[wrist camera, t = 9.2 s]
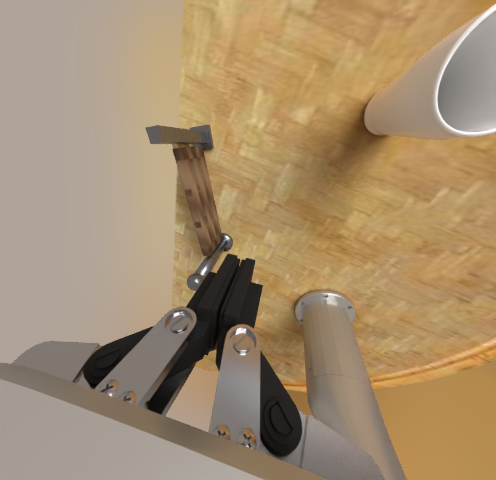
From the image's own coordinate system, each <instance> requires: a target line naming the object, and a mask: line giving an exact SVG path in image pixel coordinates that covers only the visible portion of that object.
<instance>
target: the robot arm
mask: <svg viewBox="0 0 496 480" xmlns="http://www.w3.org/2000/svg"><path fill="white" fill-rule="evenodd" d="M239 263H240V259H238V258H237V256H236V255H232V254H227V256H226V258H225V259H224V261H223V263H222V264H221V266H220V268H219V270H218V271H217V273H213V272H209V273H208V274H207V276H206V277H205V279H204V280H203V282H202V283H201V285H200V286H199V288H198V289H197V291H196V293H195V294H194V296H193V297H192V299H191V300H190V302H189V303H188V305H187V306H186V307H179V308H175V309H173V310H171V311H169V312H168V313H167V314H165V315H164V317H163V318H162V319H161V320H160V321H159V322H158V323H157V324H156V325H155V326H153V327H150V328H147V329H145V330H142V331H140V332H137V333H134V334H132V335H129V336H127V337H124V338H121V339H119V340H116V341H113V342H111V343H109V344H106V345H104V346H100V345H99V344H97V343H78V342H55V341H50V342H43V343H41V344H38V345H35V346H34V347H32V348H30V349H28V350H26V351H25V352H24V353H23V354H22V355H20V356H19V357H18V358H17V359H16V360H15V361H14V362H13V363H12V364H8V363H0V480H407V479H406V477H405V474H404V472H403V470H402V467H401V464H400V462H399V460H398V457H397V455H396V452H395V450H394V447H393V445H392V442H391V440H390V437H389V434H388V431H387V429H386V426H385V424H384V420H383V417H382V415H381V412H380V409H379V406H378V403H377V400H376V397H375V394H374V391H373V388H372V385H371V382H370V379H369V376H368V373H367V370H366V367H365V364H364V361H363V358H362V355H361V352H360V349H359V346H358V343H357V340H356V337H355V334H354V331H353V328H352V325H351V324H352V322H353V321H354V319H355V309H354V306H353V304H352V303H351V301H350V300H349V299H348V298H347V297H345V296H343V295H342V294H339V293H337V292H333V291H327V290H318V291H313V292H310V293H307V294H305V295H303V296H302V297H301V298H300V299H299V300H298V301H297V303H296V305H295V314H296V317H297V319H298V321H299V322H300V323H301V324H302V325H303V337H304V353H305V369H306V385H307V397H308V403H309V407H310V410H311V412H312V414H313V416H314V417H312V416H311V415H308V416H307V415H305V414H304V413H302V412H300V411H299V410H298V409H297V407H296V405H295V404H294V402H293V401H292V399H291V397H290V396H289V394H288V393H287V391H286V390H285V388H284V386H283V385H282V383H281V382H280V380H279V379H278V377H277V375H276V374H275V372H274V371H273V369H272V368H271V366H270V364H269V363H268V361H267V360H266V358H265V356H264V355H263V353H262V352H261V350H260V337H259V335H258V333H257V332H256V331H255V329H254V326H255V321H256V316H257V311H258V306H259V301H260V296H261V292H262V287H263V285H260V284H256V283H252V282H251V280H252V275H253V270H254V265H255V260H253V259H249V258H246V260H242V261H241V264H240V266H239ZM216 343H217V353H216V365H217V367H218V370H219V377H218V383H217V388H216V394H215V400H214V405H213V410H212V416H211V422H210V427H209V433H208V432H205V431H203V430H200V429H198V428H195V427H192V426H190V425H187V424H184V423H182V422H179V421H176V420H174V419H171V418H168V417H166V414H167V412H168V410H169V409H170V407H171V405H172V403H173V402H174V400H175V399H176V397H177V395H178V394H179V392H180V390H181V389H182V387H183V385H184V383H185V381H186V380H187V378H188V377H189V375H190V373H191V372H192V370H193V368H194V366H195V364H196V362H197V361H199V360H201V359H203V357H204V354H205V355H208V353H209V351H210V349H213V350H214V348H215V346H216Z"/></svg>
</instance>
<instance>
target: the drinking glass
mask: <svg viewBox="0 0 496 480" xmlns="http://www.w3.org/2000/svg"><path fill="white" fill-rule="evenodd" d="M364 123H365V126H366V128H367V129H368V131H370V132H371V133H373V134H375V135H391V136H400V137H407V138H415V139H425V140H447V139H461V138H470V137H480V136H485V135H489V134H493V133H496V4H495V5H493V6H491V7H490V8H488V9H486V10H485V11H483V12H482V13H480V14H478V15H477V16H475V17H474V18H472V19H471V20H469V21H468V22H466V23H465V24H463V25H462V26H460V27H459V28H457V29H456V30H454V31H453V32H452V33H450V34H449V35H447V36H446V37H445V38H443V39H442V40H441V41H439V42H438V43H437V44H435V45H434V46H433V47H432V48H430V49H429V50H428V51H427V52H426V53H424V54H423V55H422V56H421V57H420V58H418V59H417V60H416V61H415V62H414V63H413V64H412V65H410V66H409V67H408V68H407V69H406V70H405V71H403V72H402V73H401V74H400V75H399V76H398V77H396V78H395V79H394V80H393V81H392V82H390V83H389V84H388V85H387V86H385V87H384V88H382V89H381V90H379V91H378V92H377V93H376V94H375V95H374V96H373V97H372V99H371V100H370V101H369V103H368V105H367V107H366V110H365V114H364Z"/></svg>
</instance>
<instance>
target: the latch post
mask: <svg viewBox="0 0 496 480" xmlns="http://www.w3.org/2000/svg"><path fill="white" fill-rule="evenodd" d="M146 131H147V133H148V137H149V140H150V143H151V144H172V145H173V149H175V148H180V147H189V144H194V147H203V149H208V148H214V146H213V140H212V135H211V129H210V125H204V126H198V127H192V128H190V130H187V129H180V128H173V127H166V126H159V125H157V126H152V127H147V128H146Z"/></svg>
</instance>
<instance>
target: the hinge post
mask: <svg viewBox="0 0 496 480" xmlns="http://www.w3.org/2000/svg"><path fill="white" fill-rule="evenodd" d="M222 237H223V239H222V240H221V242H220V243H219V244H218V246H217V247H216V249H215V250H214V251H213V253H212V254H211V255H210V256H207V257H206V258H205V259H204V261H203V262H202V263H201V265H200V266H199V267H198V269H197V270H196V271H195V273H193V274H191V275H190V276H189V277H188V279H187V285H188V287H189V288H190V289H191V290H194V291H197V289H198V288H199V286H200V285H201V283H202V282H203V280H204V279H205V277H206V276H207V274H208V273H209V272H210V271H211V270H212V268H213V267H214V265H215V264H216V262H217V260H218V259H219V257H220V256H221V254H222V253H223V251H228V250H230V249H231V247H232V245H233V240H232V238H231V237H230V236H229V235H227V234H225V233H222Z"/></svg>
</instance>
